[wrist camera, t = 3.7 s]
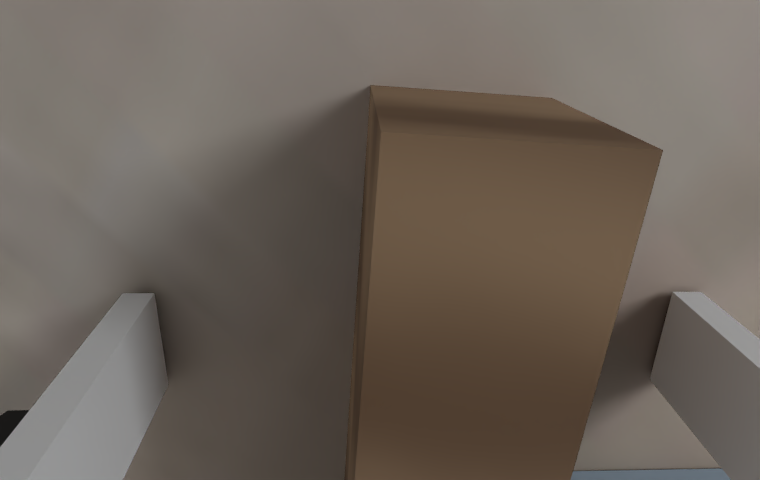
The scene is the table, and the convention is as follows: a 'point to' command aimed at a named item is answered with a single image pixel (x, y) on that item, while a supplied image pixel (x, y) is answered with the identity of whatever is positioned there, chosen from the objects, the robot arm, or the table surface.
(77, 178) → the table surface
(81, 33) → the table surface
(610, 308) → the walnut bar
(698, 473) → the slate ridge
